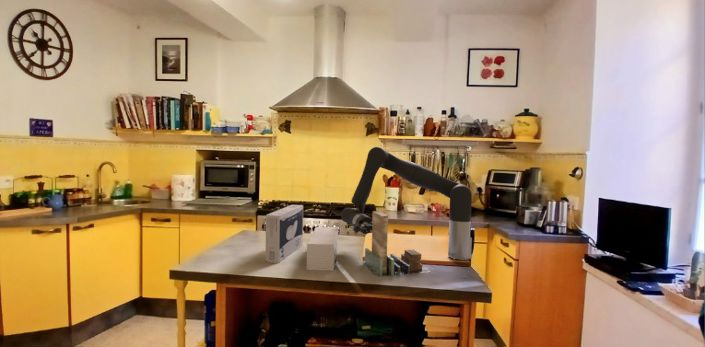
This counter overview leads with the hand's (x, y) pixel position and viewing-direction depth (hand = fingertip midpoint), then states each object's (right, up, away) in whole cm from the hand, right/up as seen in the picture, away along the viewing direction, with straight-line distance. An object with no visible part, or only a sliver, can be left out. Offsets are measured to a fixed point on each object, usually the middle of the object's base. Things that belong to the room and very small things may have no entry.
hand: (376, 231), depth 149 cm
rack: (+8, -16, 0) cm, 18 cm away
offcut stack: (+14, -14, +1) cm, 20 cm away
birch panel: (+1, -14, -3) cm, 15 cm away
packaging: (-40, -13, +22) cm, 48 cm away
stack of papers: (-22, -15, +15) cm, 30 cm away
